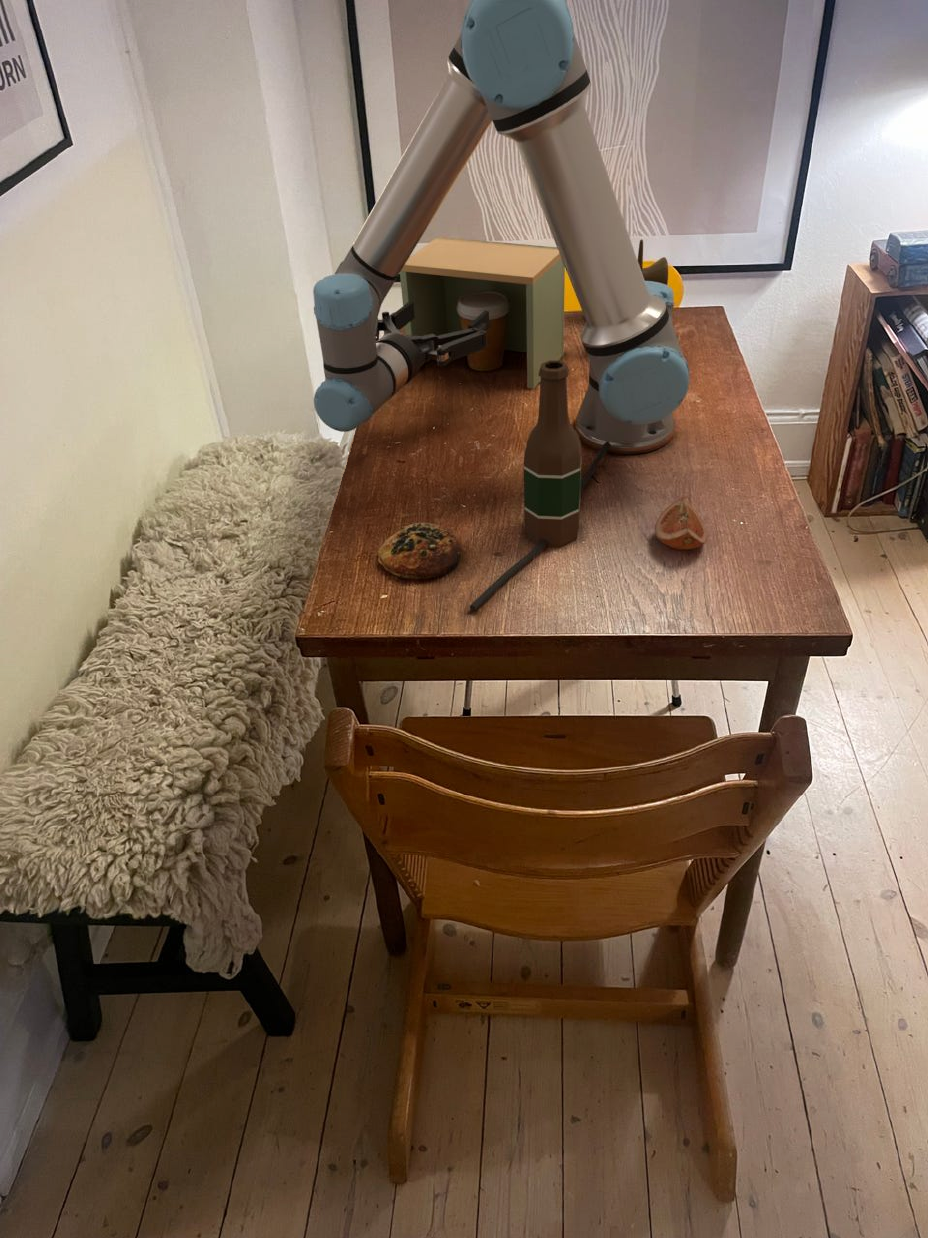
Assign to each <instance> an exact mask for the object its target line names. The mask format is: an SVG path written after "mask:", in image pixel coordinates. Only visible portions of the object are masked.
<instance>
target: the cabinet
mask: <svg viewBox="0 0 928 1238" xmlns="http://www.w3.org/2000/svg"><path fill="white" fill-rule="evenodd" d="M399 277H400V279H399V280H400V289H401V299H402V307H403V306H404V305H405V304H407V303H408V302H409V301H410V302H413V303H414V315H415V318H414V319H413V320H412V321H410V322H409V323H408V324H407V325H405V326H404V331H405V335H412V336H425V335H429V334H435V335H436V336H439V335H443V334H448V333H452V332H456V331H461V330H462V325H461V320H460V315H459V314H458V311H457V309H456V307H457V305H458V301H459V298H460V297H461V296H462V295H464V294H467V293H470V292H474V291H483V290H490V291H497V292H501V293H503V294H505V295H506V296H507V299H508V302H509V303H510V308H509V311H508V313H507V324H506V334H505V344H504V351H512V352H520V353H526V373H527V374H526V383H527V385H526V387H527V388H526V389H530V390H534V389H535V388H536V387H537V386H538V385H539V384H540V383H541V377H540V376H539V375H538V374H539V370H540V367H541V364H542V363H544V362H547V361H560V360H561V359H562V357H563V356H564V354H565V353H564V351H565V349H564V348H565V289H566V288H565V284H566V282H565V281H566V280H565V279H566V268H565V266H564V263H563V261H562V258H561V256H560V253H559V251H558V248H557V246H545V245H536V244H535V245H533V244H525V243H524V244H523V243H513V242H512V243H511V242H501V241H489V240H476V239H466V238H464V239H463V238H453V237H445V236H444V237H443V236H437V237H436V238H435V239H433V240H432V241H430V242H429V243H427V244H426V245H424V246H423V247H422V248H420V249H418V250H417V251H416V252H414V253H412V254H411V255H410V257H409V258H408V260H407V262H406V263H405V265H404V266H403V268H402V270H401V271H400V273H399ZM428 343H429V345H430V348H431V351H432V346H431V341H428ZM424 364H425V363H423V364H422V366H423V365H424Z"/></svg>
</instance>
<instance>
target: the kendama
mask: <svg viewBox="0 0 928 1238" xmlns="http://www.w3.org/2000/svg"><path fill="white" fill-rule="evenodd" d="M637 260H638V263H639V266H640V269H641V272H642V275H643V278H644V280H645V281H652V282H659V283H662V284H665V285H668V284H669V264H668V263H669V262H668V260H667V258H666V257H665V256H663V257H661V258H659V259H658V260H656V261H655V262H654V263H652V264H651V265H649V266H647V267H644V265H643V264H644V239H640V240H639V243H638V254H637Z"/></svg>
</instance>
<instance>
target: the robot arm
mask: <svg viewBox="0 0 928 1238" xmlns="http://www.w3.org/2000/svg"><path fill="white" fill-rule="evenodd" d="M463 17H464V18H463V20H462V26H461V31H460V32H459V36H458V37H457V39H456V41H455V44H454V45H453V48H452V50H451V51H450V53H449V55H448V57H447V58H446V61H447V68H448V74H447V76H446V77H445V79H444V81H443V83H442V84H441V86H440V88H439V90H438V92H437V93H436V94H435V97H434V99H433V101H432V102H431V104H430V106H429V108H428V110H427V111H426V113H425V114H424V117H423V118H422V120H421V122H420V124H419V126H418V127H417V129H416V131H415V132H414V135H413V136H412V138H411V140H410V141H409V144H408V145H407V147H406V149H405V151H404V152H403V154H402V155H401V157H400V159H399V161H398V163H397V164H396V167H395V168H394V170H393V172H392V174H391V175H390V177H389V179H388V181H387V183H386V184H385V186H384V188H383V190H382V191H381V193H380V195H379V197H378V199H377V200H376V202H375V204H374V205H373V207H372V209H371V211H370V213H369V214H368V216H367V218H366V220H365V221H364V224H363V225H362V227H361V229H360V231H359V232H358V234H357V236H356V238H355V239H354V241H353V242H352V243H353V244H352V246H351V247H350V249H349V250H348V252H347V254H346V256H345V257H344V259H343V260H342V261H340V263H339V265H338V267H336V268H337V269H336V271H335V272H334V274H331V275H326V276H325V277H323V278H322V279H320V280H317V282H316V283H315V284H314V286H313V291H312V294H313V302H314V303H313V304H314V306H313V313H314V316H315V319H316V325H317V331H318V338H319V344H320V349H321V355H322V366H323V374H324V381H322V382H321V383H320V385H319V386H318V387H317V388H316V391H315V393H314V396H313V406H314V410H315V412H316V414H317V416H318V418H319V419H320V420H321V421H322V422H323V424H324V425H326V426H327V427H328V428H330V429H332V430H334V431H338V432H341V433H342V432H343V433H347V432H351V431H354V430H356V429H357V428H358V427H360V426H361V425H362V424H364V423H365V422H367V421H369V420H370V419H371V418H372V416H373V415H375V413H376V412H377V411H378V410H379V409H380V408H382V406H384V404H386V403H387V402H388V401H389V400H391V398H392V397H393V396H395V395H396V394H397V393H398V392H399V391H401V389H403V388H404V387H405V386H407V384H409V383H410V382H411V381H412V380H413V379H414V378H415V377H416V376H417V375H418V373H419V372H420V370H421V367H422V366H423V365H424V364H425V363H428V362H429V361H431V360H433V361H437V366H438V367H445V366H446V365H448V364H449V363H451V362H453V361H456V360H458V359H461V358H463V357H467V355H469V354H472V353H474V352H477V351H480V350H482V349H485V348H487V332H486V330H487V329H489V311H484V312H483V313H482V314H480V315H479V316H478V317H477V318H476V319H475V320H474V321H473V322H471V323H470V324H469V325H468V329H465V330H461V331H456V332H452V333H448V334H443V335H439V336H436V335H435V334H429V335H425V336H412V335H406V334H405V335H404V334H403V333H401V330H402V329H403V328H405V325H407V324H408V323H409V322H410V321H412V320H413V319H414V318H415V315H414V303H413V302H410V301H409V302H408V303H407V304H405V305H404V306H403V305H402V306H401V307H400V308H399V309H397V310H396V311H394V312H392V313H391V314H390V312H389V311H382V312H381V319H379V314H380V310H381V308H382V304H383V302H384V300H385V299H386V297H387V295H388V294H389V293H390V290H391V289H392V287H393V285H394V284H395V282H396V280H398V279H397V278H398V276H400V271H401V270H402V268H403V266H404V265H405V263H406V262H407V260H408V258H409V257H410V256H411V255H412V254H413V252H414V250H415V248H416V247H417V246H418V244H419V243H420V241H421V239H422V237H423V236H424V234H425V233H426V231H427V229H428V227H429V226H430V224H431V223H432V221H433V219H434V218H435V216H436V214H437V213H438V211H439V210H440V208H441V207H442V205H443V203H444V201H445V200H446V198H447V197H448V195H449V193H450V192H451V191H452V188H453V187H454V185H455V183H456V181H457V180H458V179H459V177H460V176H461V173H462V172H463V170H464V169H465V167H466V166H467V164H468V163H469V161H470V159H471V157H472V156H473V155H474V153H475V151H476V150H477V148H478V146H479V144H480V143H481V142H482V139H483V138H484V136H485V135H486V133H487V131H488V130H489V129H490V126H491V125H492V124H493V126H494V128H495V131H496V133H497V134H498V135H500V136H503V137H506V138H508V139H510V140H512V141H513V142H515V144H516V147H517V150H518V153H519V156H520V157H521V160H522V161H523V162H522V163H523V165H524V167H525V170H526V173H527V175H528V177H529V180H530V183H531V186H532V187H533V190H534V193H535V196H536V197H537V198H536V199H537V201H538V203H539V205H540V207H541V210H542V213H543V215H544V218H545V221H546V223H547V225H548V228H549V231H550V233H551V235H552V238H553V241H554V243H555V245H556V246H555V247H557V248H558V251H559V253H560V256H561V258H562V261H563V263H564V266H565V272H566V274H567V276H568V279H569V280H570V284H571V287H572V288H573V292H574V294H575V296H576V298H577V301H578V304H579V307H580V309H581V311H582V314H583V316H584V320H585V324H584V327H583V329H582V331H581V333H580V341H581V343H582V345H583V348H584V351H585V353H586V355H587V358H588V360H589V367H588V368H589V370H588V386H587V388H586V391H585V393H584V397H583V399H582V402H581V405H580V406H579V410H578V412H577V415H576V417H575V431H576V432H577V434H578V437H579V439H580V442H581V443H583V444H584V445H586V446H588V447H589V448H592V449H594V450H596V451H599V452H598V453H597V454H596V456H595V457H594V459H593V461H592V463H591V464H590V466H589V467H588V469H587V470H586V471H585V474H584V475H583V477H581V494H582V492H583V491H584V489H585V487H586V486H587V484H588V483H589V481H590V479H591V478H592V476H593V474H594V473H595V471H596V469H597V467H598V466H599V464H600V463H601V461H602V460H603V458H604V457H605V455H606V454H607V453H608V454H616V455H618V454H619V455H636V454H642V453H643V454H644V453H647V452H648V453H649V452H652V451H654V450H658V449H660V448H661V447H664V446H665V445H666V444H668V443H669V442H670V441H671V439H672V438H673V435H674V430H675V429H674V427H675V418H674V414H673V413H675V411H676V410H677V409H678V408H680V406H681V404H682V403H683V401H684V400H685V398H686V396H687V394H688V391H689V388H690V367H689V362H688V361H687V360H686V358H685V357H684V354H683V350H682V347H681V345H680V343H679V339H678V337H677V333H676V330H675V327H674V325H673V310H674V307H675V303H676V302H674V296H675V295H674V290H673V289H672V287H670V286H669V285H668V284H667V285H665V284H662V283H659V282H652V281H645V280H644V278H643V275H642V272H641V269H640V266H639V263H638V256H637V254H636V251H635V249H634V245H633V243H632V240H631V237H630V235H629V231H628V228H627V226H626V223H625V220H624V217H623V215H622V212H621V211H622V210H621V208H620V205H619V203H618V200H617V199H618V198H617V197H616V194H615V191H614V188H613V186H612V182H611V180H610V179H611V178H610V177H609V173H608V171H607V168H606V164H605V162H604V159H603V157H602V154H601V151H600V147H599V144H598V142H597V139H596V136H595V134H594V130H593V127H592V124H591V121H590V119H589V115H588V113H587V110H586V107H585V104H586V103H585V102H586V100H587V97H588V94H589V92H590V89H591V87H592V82H591V79H590V76H589V73H588V70H587V67H586V66H587V65H586V63H585V61H584V58H583V55H582V52H581V48H580V46H579V43H578V40H577V37H576V33H575V30H574V23H573V18H572V15H571V12H570V9H569V7H568V5H567V2H566V1H565V0H471V1H470V2H469V4H468V6H467V8H466V11H465V14H464V16H463ZM381 332H383V335H382V336H381V337H380V333H381ZM428 341H431V346H432V351H431V348H430V345H429V343H428ZM423 363H424V364H423ZM422 364H423V365H422ZM547 544H548V542H547V541H546V540H542V541H541V542H539V543H538V544H536V545H535V546H534V547H532V549H531V550H530V551H529V552H527V553H526V555H525V556H523V557H522V558H521V559H519V560H518V561H517V562H515V564H513V565H512V566H511V567H510V568H509V569H507V570H506V571H505V572H503V574H502V575H501V576H499V577H498V578H497V579H496V580H495V581H493V583H492V584H490V585H489V587H488V588H487V589H486V590H485V591H483V592H482V593H481V595H479V596H478V597H477V598H476V599H475V601H473V602H472V603H471V604H470V605H469V610H471V611H472V612H476V611H477V610H478V609H480V607H481V606H482V605H484V604H485V603H486V601H487V600H488V599H490V597H491V596H492V595H494V594H495V592H497V590H499V589H500V588H501V587H502V586H503V585H504V584H505V583H506V582H507V581H508V580H510V579H511V578H512V577H513V576H514V575H515V574H516V573H518V572H519V571H520V570H521V569H522V568H524V567H525V566H526V565H527V564H528V563H530V562H531V561H532V560H533V559H534V558H535V557H536V556H537V555H538V554H540V553H541V552H542V551H543V550H544V548H546V547H547V546H546V545H547Z"/></svg>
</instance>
